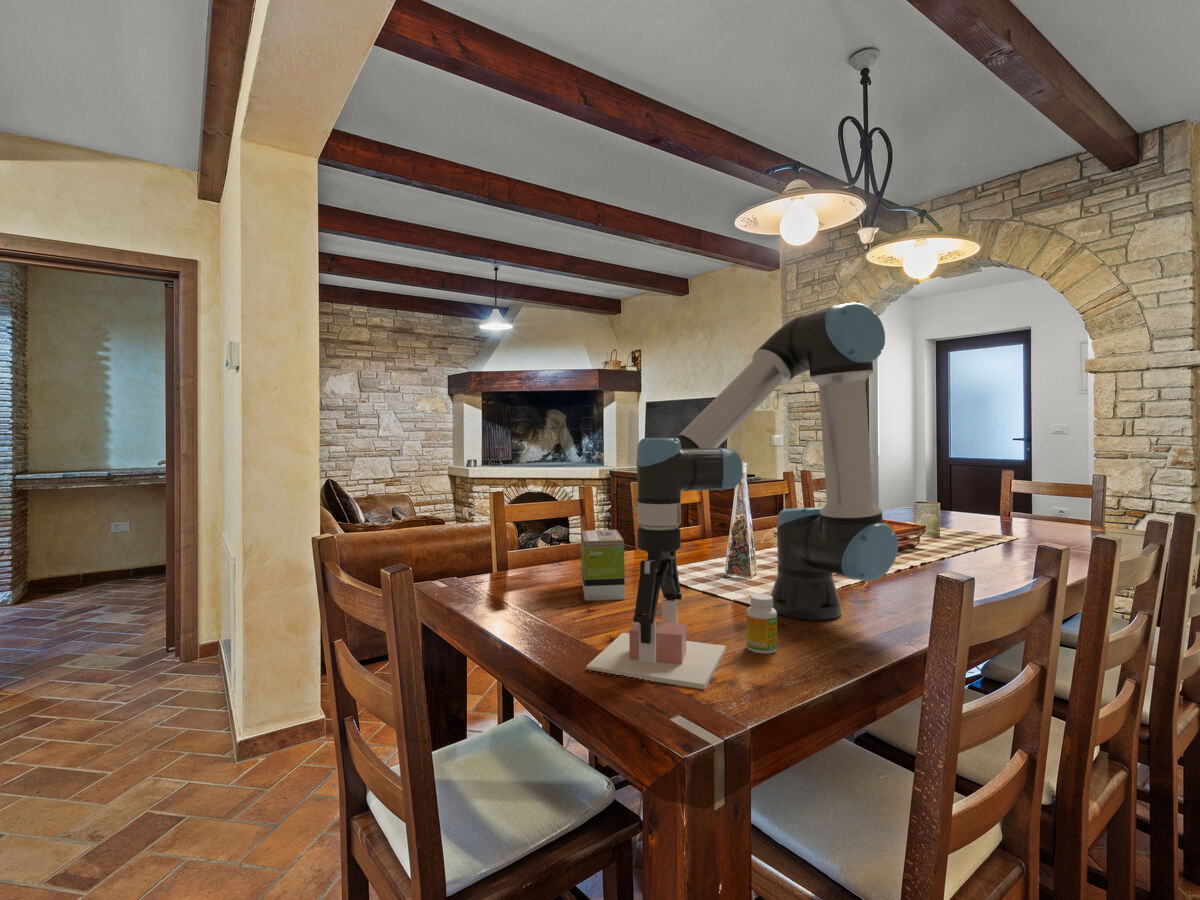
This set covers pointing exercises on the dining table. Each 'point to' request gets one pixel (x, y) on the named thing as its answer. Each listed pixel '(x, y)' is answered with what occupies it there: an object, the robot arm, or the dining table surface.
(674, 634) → the reddish brown rectangular block
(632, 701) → the dining table surface
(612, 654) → the mat
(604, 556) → the tea box
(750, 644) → the supplement bottle
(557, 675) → the dining table surface
